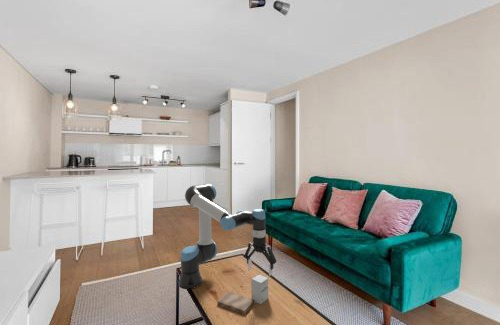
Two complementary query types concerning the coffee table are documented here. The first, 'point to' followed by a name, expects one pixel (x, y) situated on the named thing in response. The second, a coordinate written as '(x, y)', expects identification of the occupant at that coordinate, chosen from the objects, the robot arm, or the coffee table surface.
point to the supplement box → (259, 289)
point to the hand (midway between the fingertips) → (260, 272)
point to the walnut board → (236, 302)
